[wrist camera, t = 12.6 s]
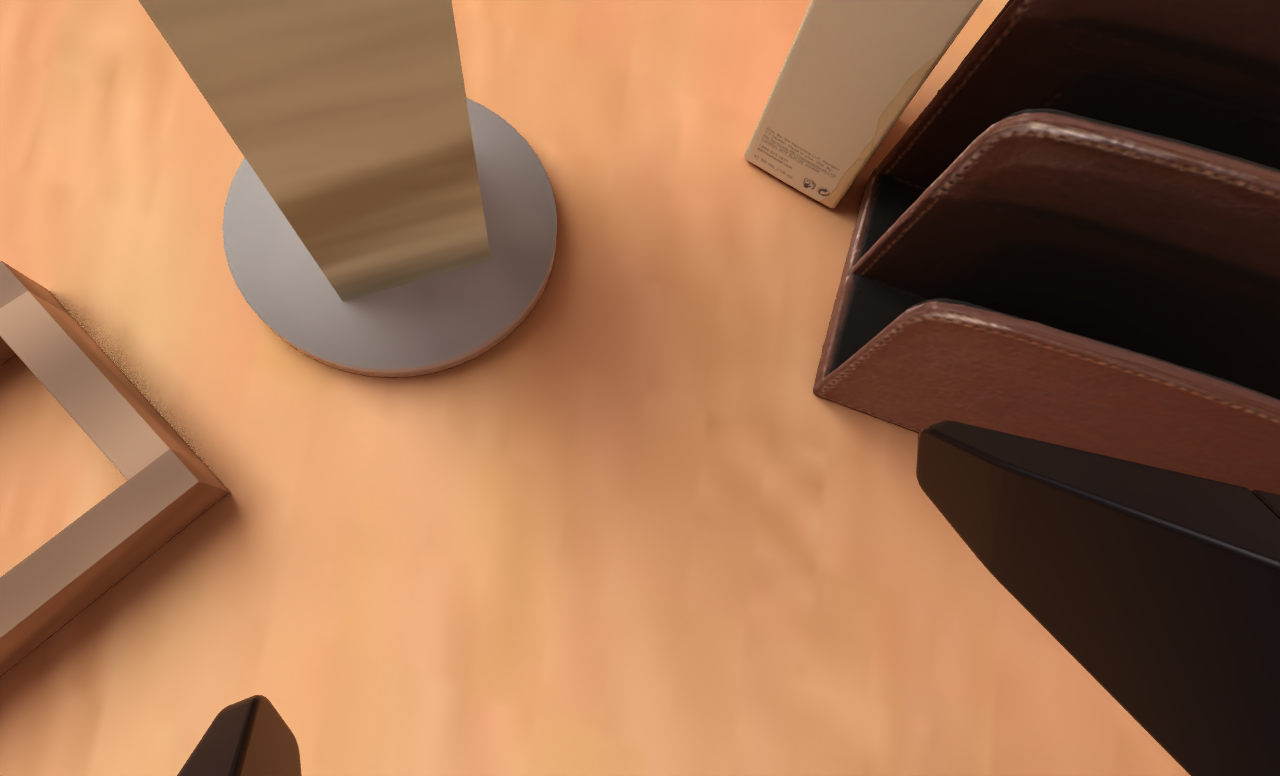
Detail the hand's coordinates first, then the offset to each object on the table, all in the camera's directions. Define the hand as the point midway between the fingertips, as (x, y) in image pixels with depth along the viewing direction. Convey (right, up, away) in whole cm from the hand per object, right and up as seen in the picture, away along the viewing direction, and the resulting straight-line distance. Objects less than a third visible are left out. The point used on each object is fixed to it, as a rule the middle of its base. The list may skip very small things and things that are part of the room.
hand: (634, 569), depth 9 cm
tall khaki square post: (-8, +8, +15) cm, 19 cm away
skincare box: (+7, +13, +20) cm, 25 cm away
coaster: (-8, +8, +16) cm, 19 cm away
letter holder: (+17, +3, +18) cm, 25 cm away
